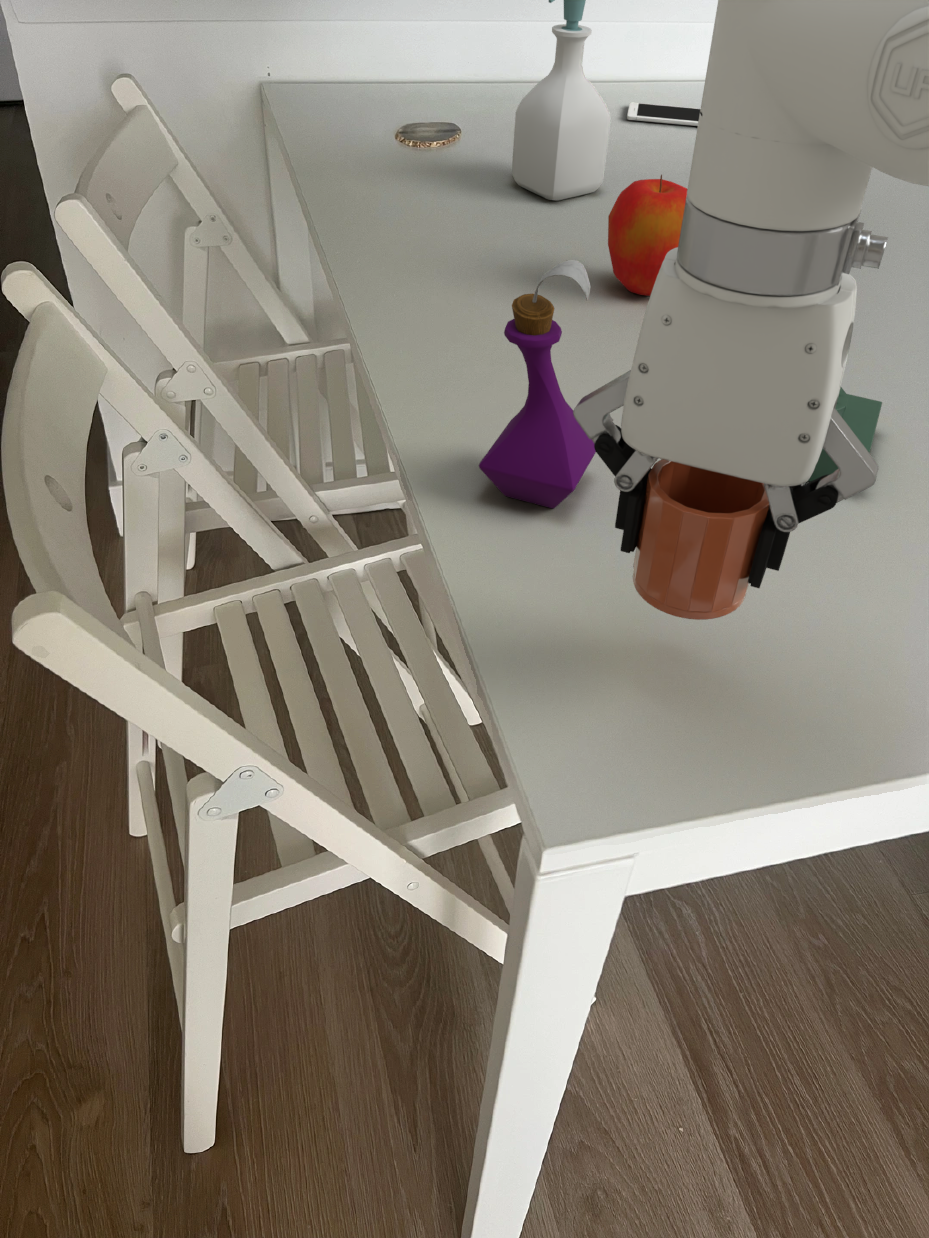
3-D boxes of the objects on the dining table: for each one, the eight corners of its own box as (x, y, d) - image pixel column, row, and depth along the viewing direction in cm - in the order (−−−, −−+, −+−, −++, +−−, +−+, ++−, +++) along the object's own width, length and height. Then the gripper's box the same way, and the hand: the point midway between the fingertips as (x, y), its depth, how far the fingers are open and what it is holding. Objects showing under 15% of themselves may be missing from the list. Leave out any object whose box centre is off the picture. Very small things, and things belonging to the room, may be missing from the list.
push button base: (870, 434, 86) (889, 382, 82) (855, 493, 79) (875, 439, 75) (733, 401, 89) (746, 350, 86) (707, 455, 82) (720, 402, 79)
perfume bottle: (475, 502, 76) (488, 273, 64) (509, 454, 81) (526, 234, 69) (568, 526, 74) (599, 296, 62) (596, 475, 79) (630, 253, 67)
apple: (590, 299, 104) (605, 181, 96) (611, 268, 110) (627, 154, 102) (677, 316, 102) (701, 196, 94) (693, 282, 108) (716, 168, 100)
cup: (756, 566, 59) (783, 467, 55) (732, 633, 55) (759, 530, 50) (649, 538, 61) (667, 440, 57) (618, 600, 57) (634, 498, 52)
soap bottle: (504, 184, 129) (517, -21, 114) (560, 172, 133) (580, -27, 118) (551, 207, 123) (572, -5, 108) (608, 194, 128) (635, -12, 113)
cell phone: (732, 130, 150) (733, 125, 150) (626, 120, 152) (627, 115, 152) (731, 115, 156) (731, 111, 156) (629, 106, 158) (629, 102, 157)
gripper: (969, 249, 45) (858, 560, 57) (605, 191, 50) (573, 487, 62) (960, 311, 40) (840, 639, 52) (555, 239, 45) (530, 553, 57)
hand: (695, 554), depth 57 cm, fingers closed on cup, 6 cm apart
